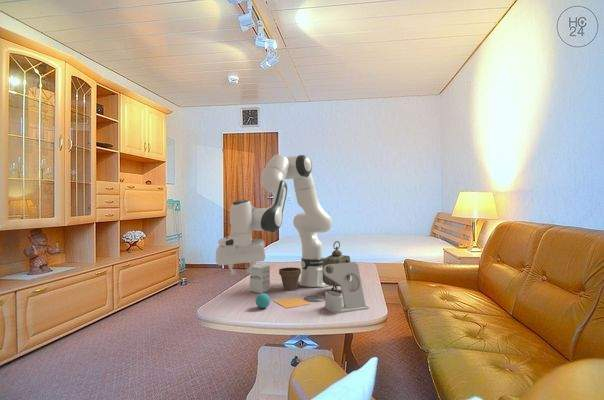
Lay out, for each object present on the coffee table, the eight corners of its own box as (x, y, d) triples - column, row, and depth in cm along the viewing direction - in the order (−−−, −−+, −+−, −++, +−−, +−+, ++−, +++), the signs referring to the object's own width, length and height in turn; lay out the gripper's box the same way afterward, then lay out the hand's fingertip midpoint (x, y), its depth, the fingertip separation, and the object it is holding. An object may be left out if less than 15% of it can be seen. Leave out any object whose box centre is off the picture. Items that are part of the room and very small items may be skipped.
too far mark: (317, 294, 159) (317, 294, 159) (330, 299, 151) (330, 299, 151) (300, 297, 154) (300, 297, 154) (311, 303, 145) (311, 302, 145)
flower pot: (276, 286, 174) (276, 267, 175) (297, 285, 178) (297, 266, 178) (282, 292, 163) (281, 271, 164) (303, 290, 167) (303, 270, 167)
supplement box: (249, 291, 165) (249, 266, 165) (258, 288, 171) (258, 264, 172) (261, 293, 161) (261, 267, 162) (270, 290, 168) (270, 265, 168)
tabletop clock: (338, 296, 156) (338, 242, 157) (321, 293, 161) (321, 241, 161) (350, 289, 169) (350, 240, 169) (334, 287, 173) (334, 239, 174)
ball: (266, 304, 143) (266, 290, 143) (272, 308, 138) (272, 294, 138) (253, 307, 140) (253, 292, 140) (259, 310, 135) (259, 296, 135)
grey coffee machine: (333, 313, 131) (333, 268, 131) (322, 306, 141) (322, 264, 141) (370, 308, 137) (370, 265, 138) (358, 302, 147) (357, 261, 147)
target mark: (297, 297, 154) (297, 296, 154) (310, 303, 144) (310, 303, 144) (273, 301, 148) (273, 300, 148) (286, 308, 138) (286, 308, 138)
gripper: (261, 237, 143) (261, 270, 142) (214, 240, 132) (214, 275, 132) (267, 239, 137) (267, 272, 137) (218, 242, 127) (218, 278, 127)
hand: (241, 274), depth 134 cm, fingers open, 5 cm apart
